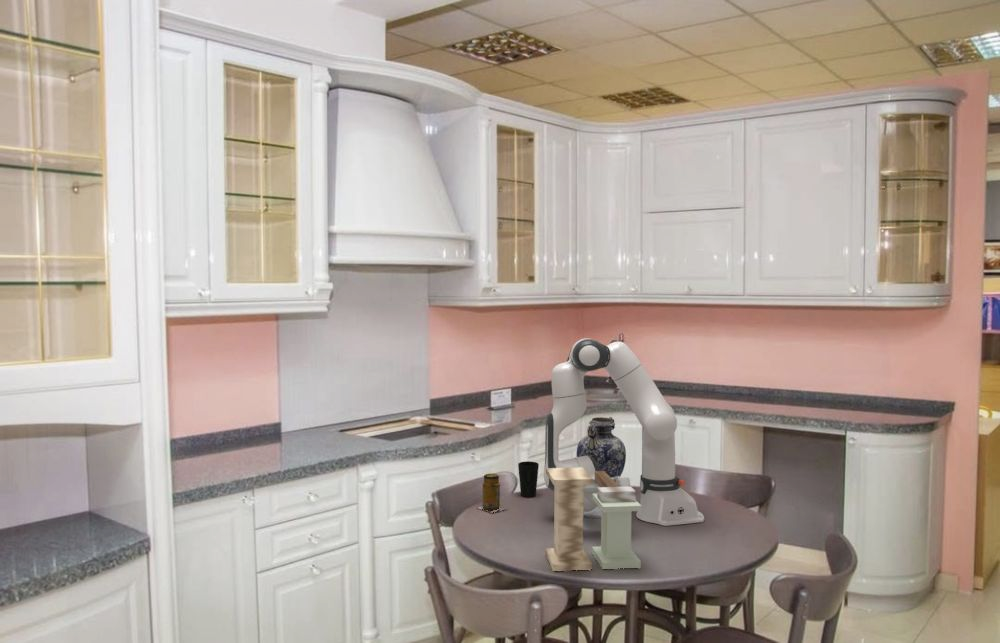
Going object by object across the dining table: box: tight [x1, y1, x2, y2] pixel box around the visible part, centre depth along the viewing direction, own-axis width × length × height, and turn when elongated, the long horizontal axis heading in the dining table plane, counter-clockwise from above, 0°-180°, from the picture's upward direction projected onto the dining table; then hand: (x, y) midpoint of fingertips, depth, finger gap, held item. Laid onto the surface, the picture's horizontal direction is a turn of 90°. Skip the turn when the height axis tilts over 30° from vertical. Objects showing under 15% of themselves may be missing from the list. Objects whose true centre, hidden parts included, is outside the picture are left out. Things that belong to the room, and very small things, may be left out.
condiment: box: [477, 473, 501, 514], centre depth 276 cm, size 7×8×12 cm
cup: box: [517, 461, 540, 499], centre depth 292 cm, size 8×8×12 cm
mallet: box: [595, 471, 637, 503], centre depth 235 cm, size 10×23×3 cm, turn 6°
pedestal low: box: [591, 494, 642, 570], centre depth 227 cm, size 11×13×18 cm
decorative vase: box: [576, 416, 627, 478], centre depth 297 cm, size 21×19×28 cm
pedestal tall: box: [545, 467, 593, 572], centre depth 225 cm, size 11×13×26 cm
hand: (602, 479), depth 243 cm, fingers open, 8 cm apart
